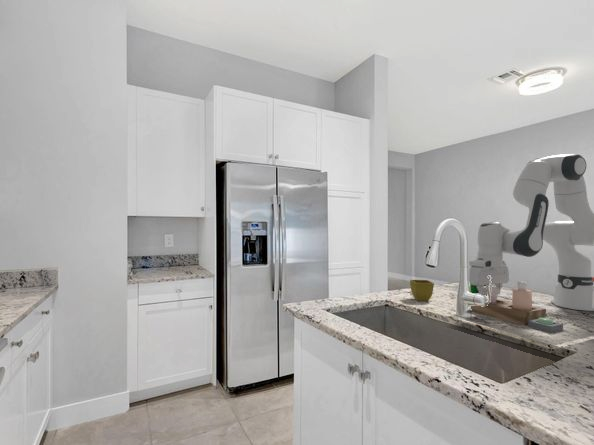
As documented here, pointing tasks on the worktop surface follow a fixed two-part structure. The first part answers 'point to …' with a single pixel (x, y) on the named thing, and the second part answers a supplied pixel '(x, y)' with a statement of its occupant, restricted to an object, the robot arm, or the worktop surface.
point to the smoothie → (494, 294)
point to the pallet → (510, 312)
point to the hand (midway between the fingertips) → (489, 295)
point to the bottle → (522, 297)
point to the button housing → (546, 326)
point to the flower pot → (421, 289)
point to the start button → (545, 321)
